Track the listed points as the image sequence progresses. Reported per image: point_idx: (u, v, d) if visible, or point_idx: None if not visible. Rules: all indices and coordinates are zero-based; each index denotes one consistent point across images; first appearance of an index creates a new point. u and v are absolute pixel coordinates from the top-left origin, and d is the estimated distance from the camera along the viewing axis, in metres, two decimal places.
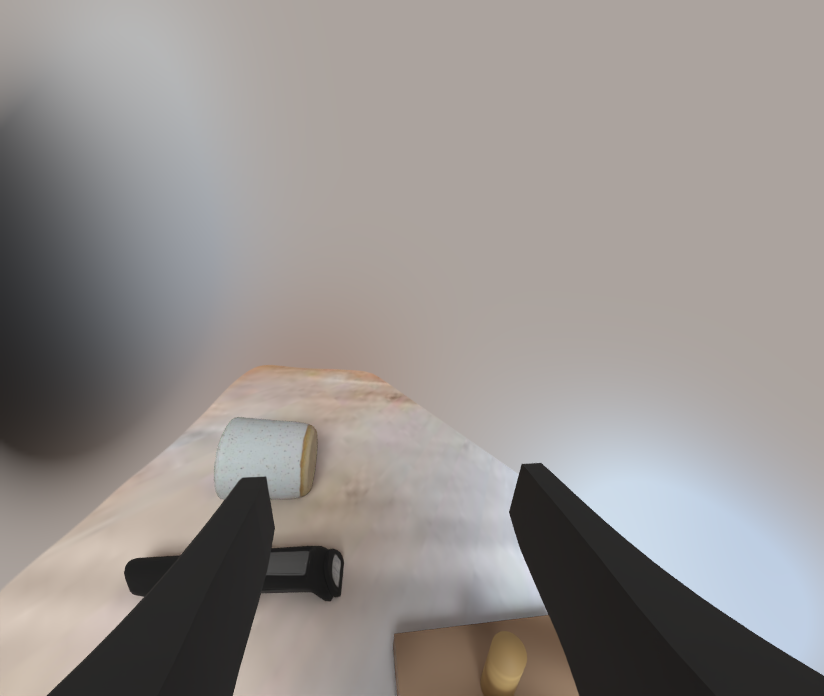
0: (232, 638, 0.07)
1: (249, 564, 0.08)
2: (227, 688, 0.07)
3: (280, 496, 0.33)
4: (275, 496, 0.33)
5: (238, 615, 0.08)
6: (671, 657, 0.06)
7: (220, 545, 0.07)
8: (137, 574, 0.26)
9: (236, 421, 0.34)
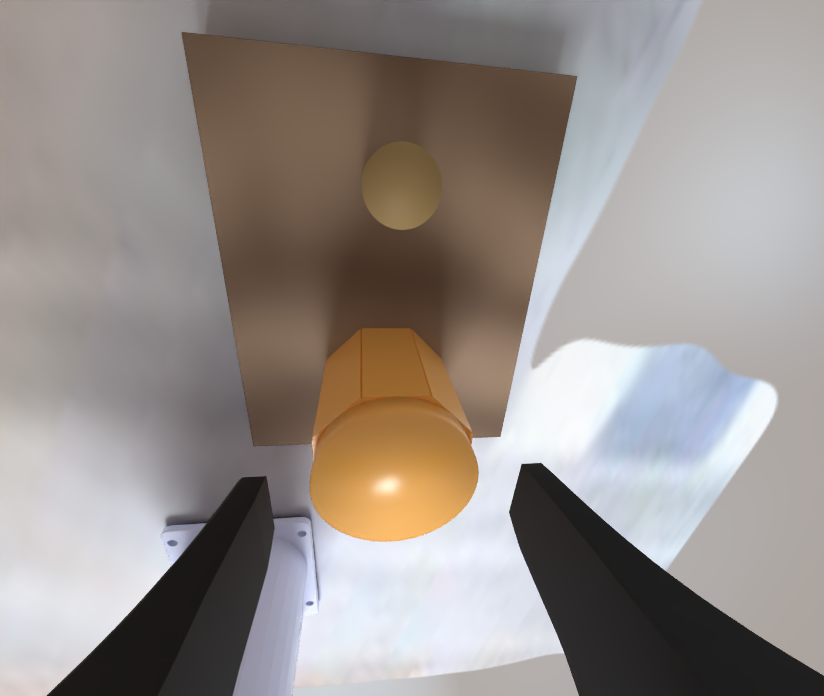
0: (232, 638, 0.07)
1: (249, 564, 0.08)
2: (227, 688, 0.07)
3: None
4: None
5: (238, 615, 0.08)
6: (670, 657, 0.06)
7: (220, 545, 0.07)
8: None
9: None
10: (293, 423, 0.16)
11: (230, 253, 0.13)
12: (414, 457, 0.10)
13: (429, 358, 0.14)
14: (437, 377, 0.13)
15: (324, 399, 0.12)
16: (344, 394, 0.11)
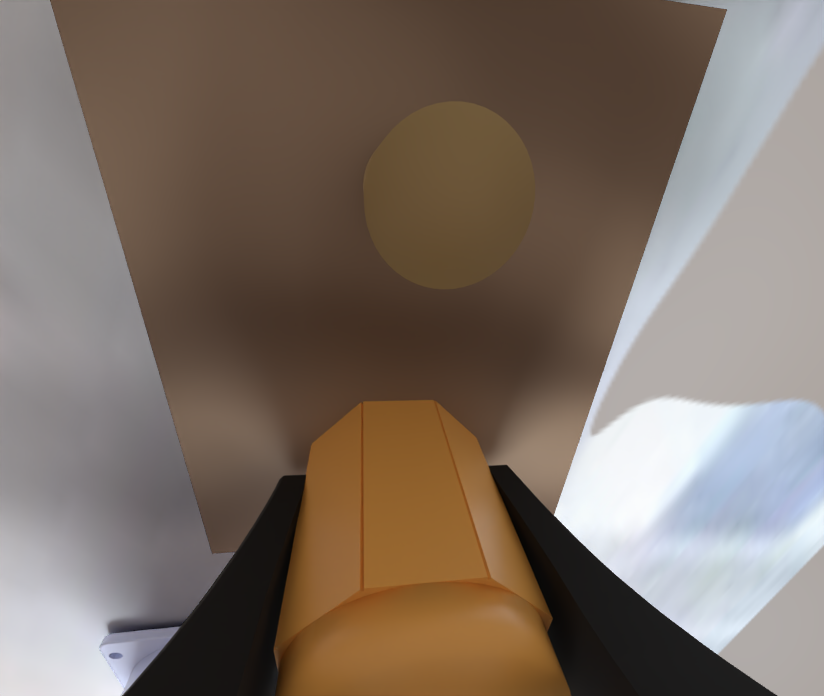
0: None
1: None
2: None
3: None
4: None
5: None
6: (610, 666, 0.05)
7: (274, 541, 0.07)
8: None
9: None
10: None
11: (155, 300, 0.08)
12: None
13: (465, 455, 0.09)
14: (483, 498, 0.08)
15: (302, 543, 0.07)
16: (333, 555, 0.07)
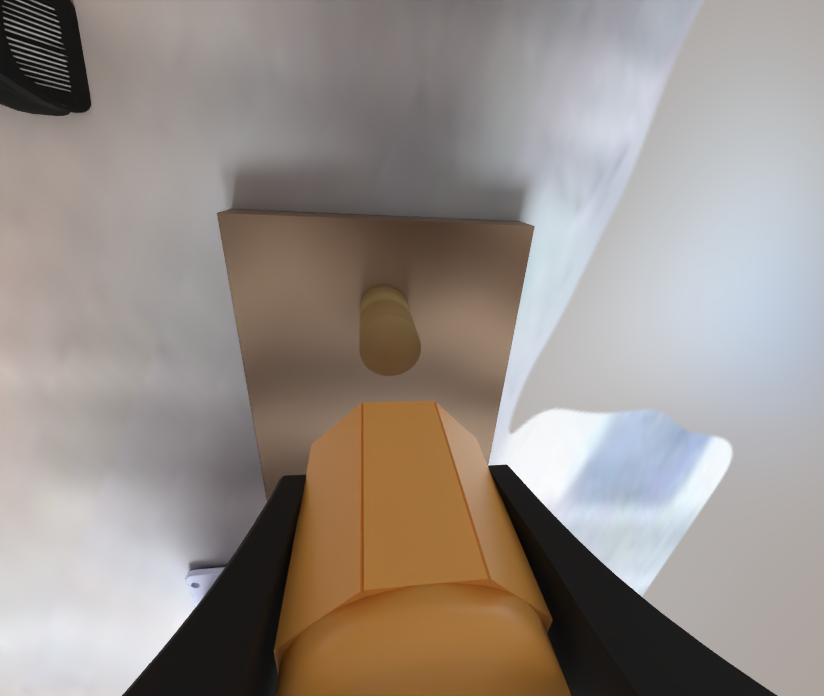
0: None
1: None
2: None
3: None
4: None
5: None
6: (610, 667, 0.05)
7: (274, 541, 0.07)
8: None
9: None
10: None
11: (251, 363, 0.15)
12: None
13: (465, 456, 0.09)
14: (483, 499, 0.08)
15: (302, 544, 0.07)
16: (333, 557, 0.07)
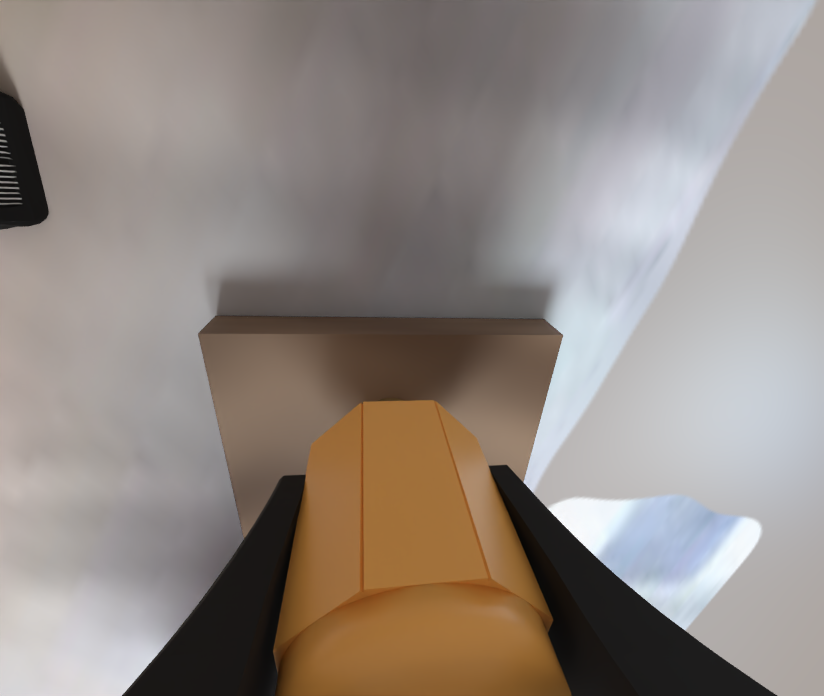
0: None
1: None
2: None
3: None
4: None
5: None
6: (609, 666, 0.05)
7: (274, 541, 0.07)
8: None
9: None
10: None
11: (240, 479, 0.14)
12: None
13: (466, 455, 0.09)
14: (483, 499, 0.08)
15: (301, 544, 0.07)
16: (333, 556, 0.06)
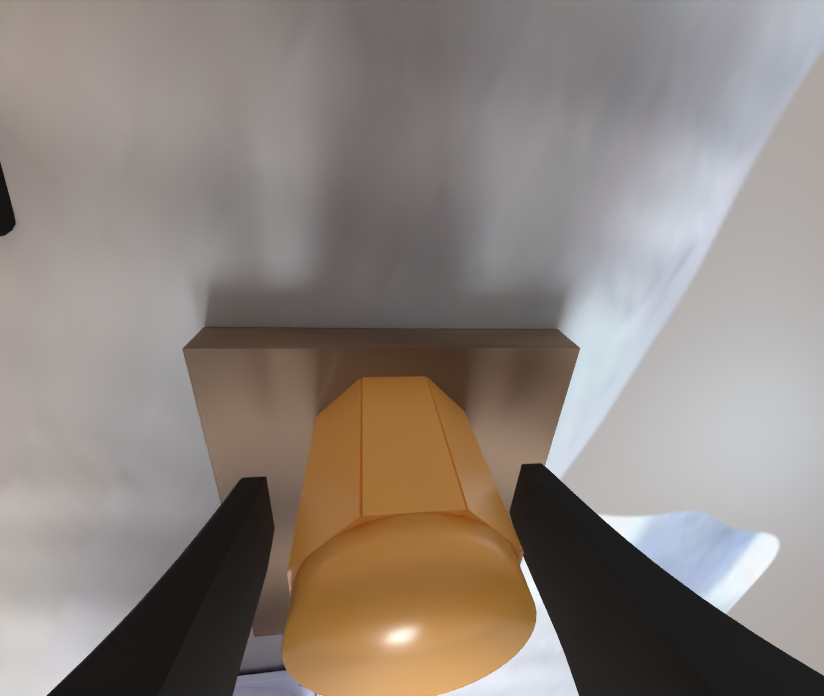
0: (232, 638, 0.07)
1: (249, 564, 0.08)
2: (228, 688, 0.07)
3: None
4: None
5: (238, 615, 0.08)
6: (670, 657, 0.06)
7: (220, 545, 0.07)
8: None
9: None
10: None
11: None
12: (442, 609, 0.07)
13: (453, 422, 0.10)
14: (467, 456, 0.09)
15: (309, 493, 0.09)
16: (336, 497, 0.08)
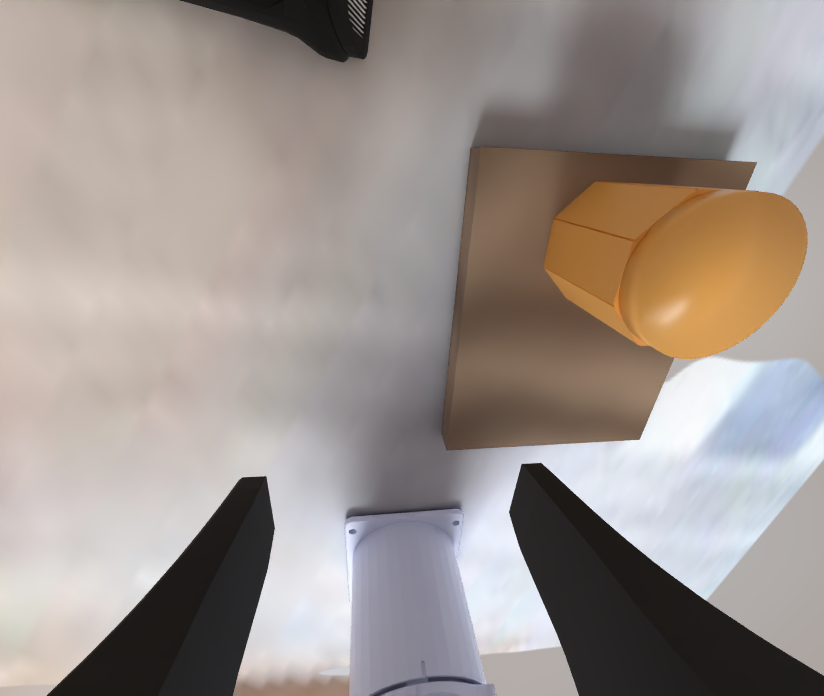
0: (232, 638, 0.07)
1: (249, 564, 0.08)
2: (228, 688, 0.07)
3: None
4: None
5: (238, 615, 0.08)
6: (670, 657, 0.06)
7: (220, 545, 0.07)
8: None
9: None
10: (482, 431, 0.20)
11: (471, 301, 0.16)
12: (753, 247, 0.10)
13: None
14: None
15: (607, 223, 0.12)
16: (651, 204, 0.11)
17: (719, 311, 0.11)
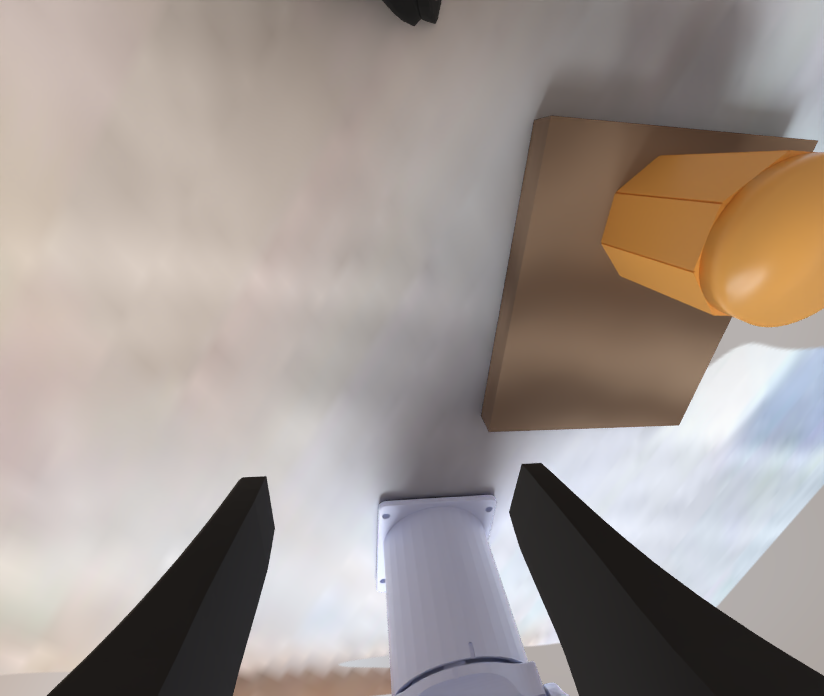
0: (232, 638, 0.07)
1: (249, 564, 0.08)
2: (228, 688, 0.07)
3: None
4: None
5: (238, 615, 0.08)
6: (670, 657, 0.06)
7: (220, 545, 0.07)
8: None
9: None
10: (525, 412, 0.20)
11: (526, 276, 0.16)
12: None
13: None
14: None
15: (685, 191, 0.12)
16: (735, 168, 0.11)
17: (804, 277, 0.11)
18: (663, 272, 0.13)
